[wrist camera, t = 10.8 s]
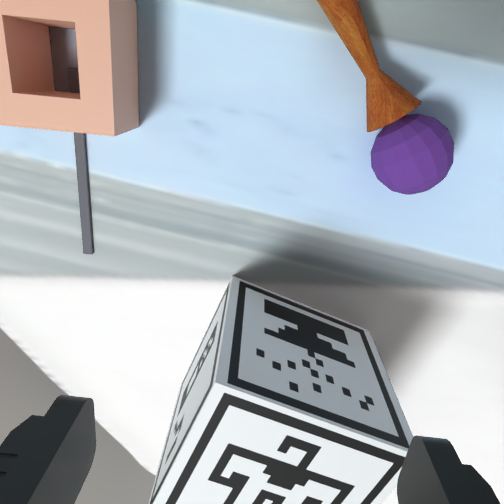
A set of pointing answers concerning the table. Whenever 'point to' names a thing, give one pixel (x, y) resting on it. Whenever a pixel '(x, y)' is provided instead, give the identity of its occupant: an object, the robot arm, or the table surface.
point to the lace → (82, 174)
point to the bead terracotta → (89, 66)
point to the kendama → (393, 114)
